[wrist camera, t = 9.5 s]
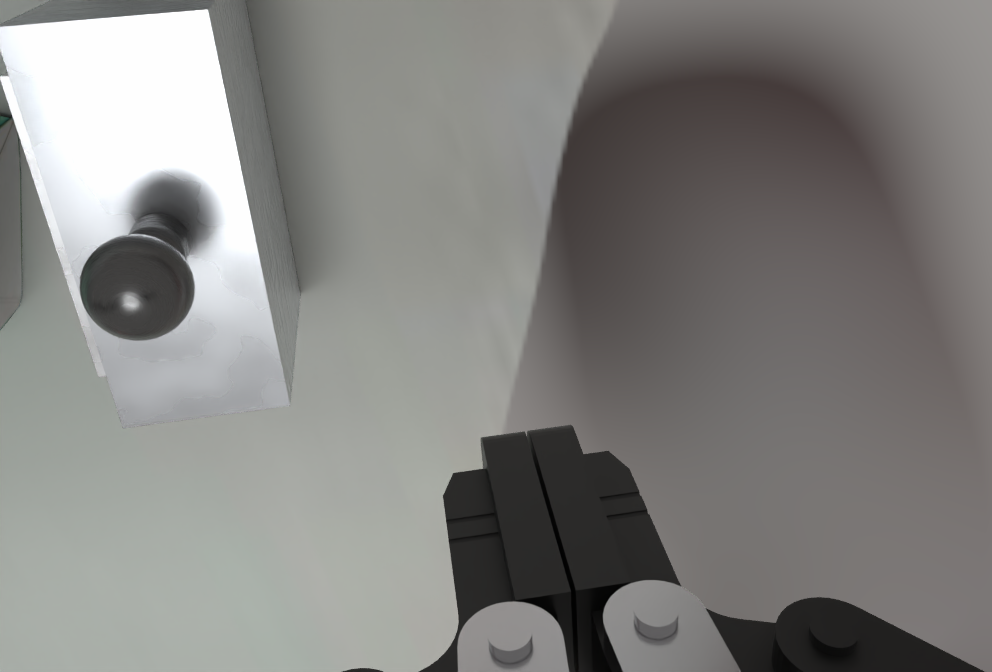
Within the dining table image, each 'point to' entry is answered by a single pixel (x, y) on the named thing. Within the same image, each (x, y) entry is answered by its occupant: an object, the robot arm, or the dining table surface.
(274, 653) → the dining table surface
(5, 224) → the box
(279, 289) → the sliding jaw
